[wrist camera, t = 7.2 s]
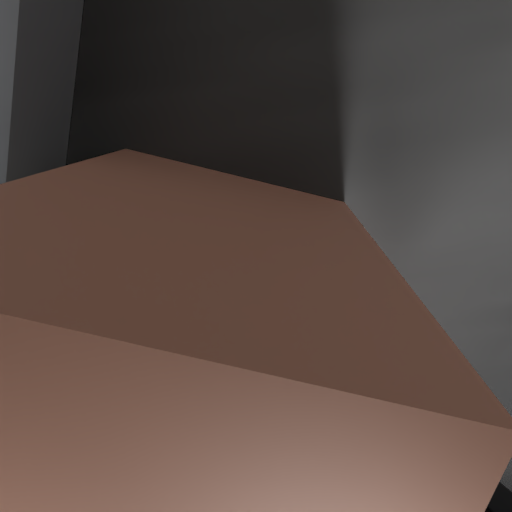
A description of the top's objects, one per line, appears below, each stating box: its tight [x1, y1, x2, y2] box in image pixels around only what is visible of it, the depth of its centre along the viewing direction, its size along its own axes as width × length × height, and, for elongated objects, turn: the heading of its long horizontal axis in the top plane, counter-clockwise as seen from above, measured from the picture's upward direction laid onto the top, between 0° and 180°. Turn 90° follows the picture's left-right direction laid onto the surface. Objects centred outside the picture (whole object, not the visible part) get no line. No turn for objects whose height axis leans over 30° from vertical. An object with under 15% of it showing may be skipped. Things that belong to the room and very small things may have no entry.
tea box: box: [0, 149, 512, 512], centre depth 8 cm, size 5×7×8 cm
